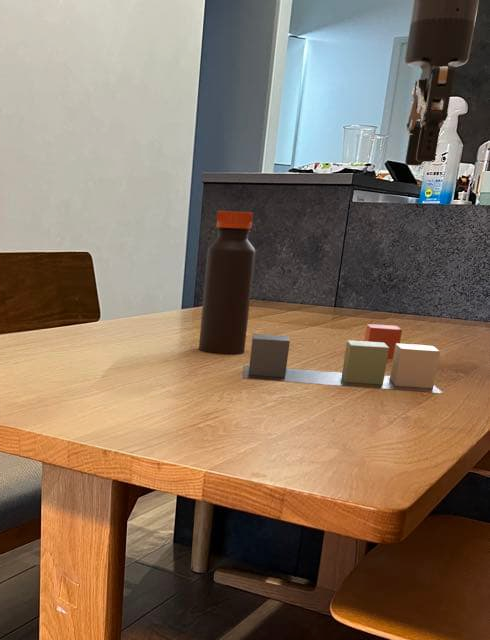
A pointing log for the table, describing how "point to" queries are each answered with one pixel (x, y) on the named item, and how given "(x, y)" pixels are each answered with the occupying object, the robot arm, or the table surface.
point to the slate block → (269, 355)
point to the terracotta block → (384, 336)
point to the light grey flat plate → (332, 380)
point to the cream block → (414, 365)
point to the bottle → (227, 286)
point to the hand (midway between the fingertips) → (418, 163)
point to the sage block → (365, 362)
